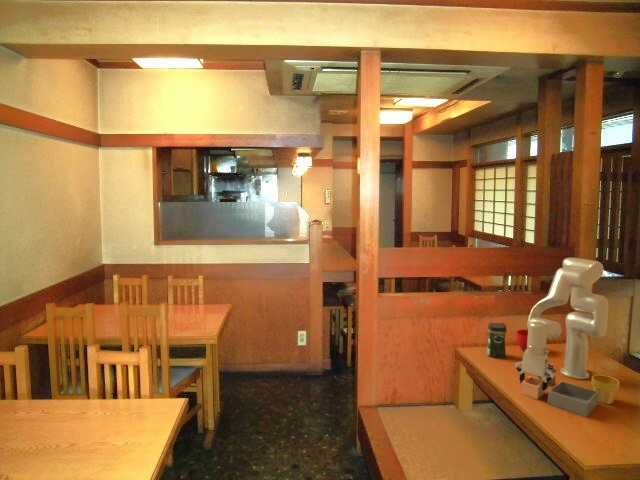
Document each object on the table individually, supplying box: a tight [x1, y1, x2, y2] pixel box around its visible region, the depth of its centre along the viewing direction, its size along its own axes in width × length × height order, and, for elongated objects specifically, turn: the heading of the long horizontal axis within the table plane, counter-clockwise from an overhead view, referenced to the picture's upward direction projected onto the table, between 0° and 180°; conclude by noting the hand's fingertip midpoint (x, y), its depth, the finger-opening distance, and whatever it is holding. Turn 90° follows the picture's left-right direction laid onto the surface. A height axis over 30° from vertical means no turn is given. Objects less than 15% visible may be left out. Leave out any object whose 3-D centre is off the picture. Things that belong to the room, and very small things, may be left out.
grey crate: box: [546, 380, 599, 418], centre depth 189 cm, size 15×15×6 cm
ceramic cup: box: [515, 329, 548, 352], centre depth 251 cm, size 13×17×10 cm
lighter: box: [536, 362, 557, 386], centre depth 210 cm, size 8×3×10 cm, turn 71°
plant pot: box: [591, 374, 621, 405], centre depth 193 cm, size 10×10×10 cm
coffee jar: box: [486, 322, 507, 358], centre depth 243 cm, size 10×8×19 cm
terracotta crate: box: [520, 375, 546, 400], centre depth 199 cm, size 9×7×6 cm
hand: (532, 385), depth 198 cm, fingers open, 9 cm apart
